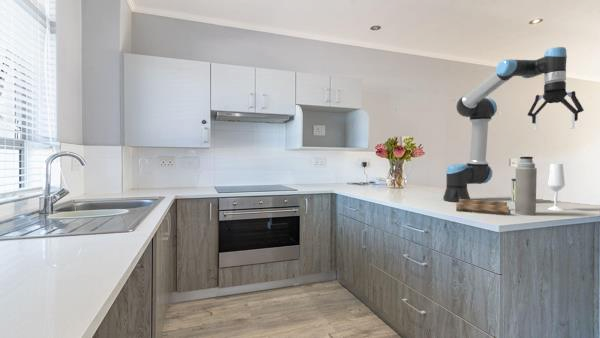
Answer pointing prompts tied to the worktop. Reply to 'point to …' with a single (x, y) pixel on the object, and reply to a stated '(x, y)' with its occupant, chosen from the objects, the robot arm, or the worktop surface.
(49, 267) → the worktop surface
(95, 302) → the worktop surface
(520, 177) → the thermos bottle
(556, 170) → the champagne flute
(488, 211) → the cradle
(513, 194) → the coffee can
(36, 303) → the worktop surface
